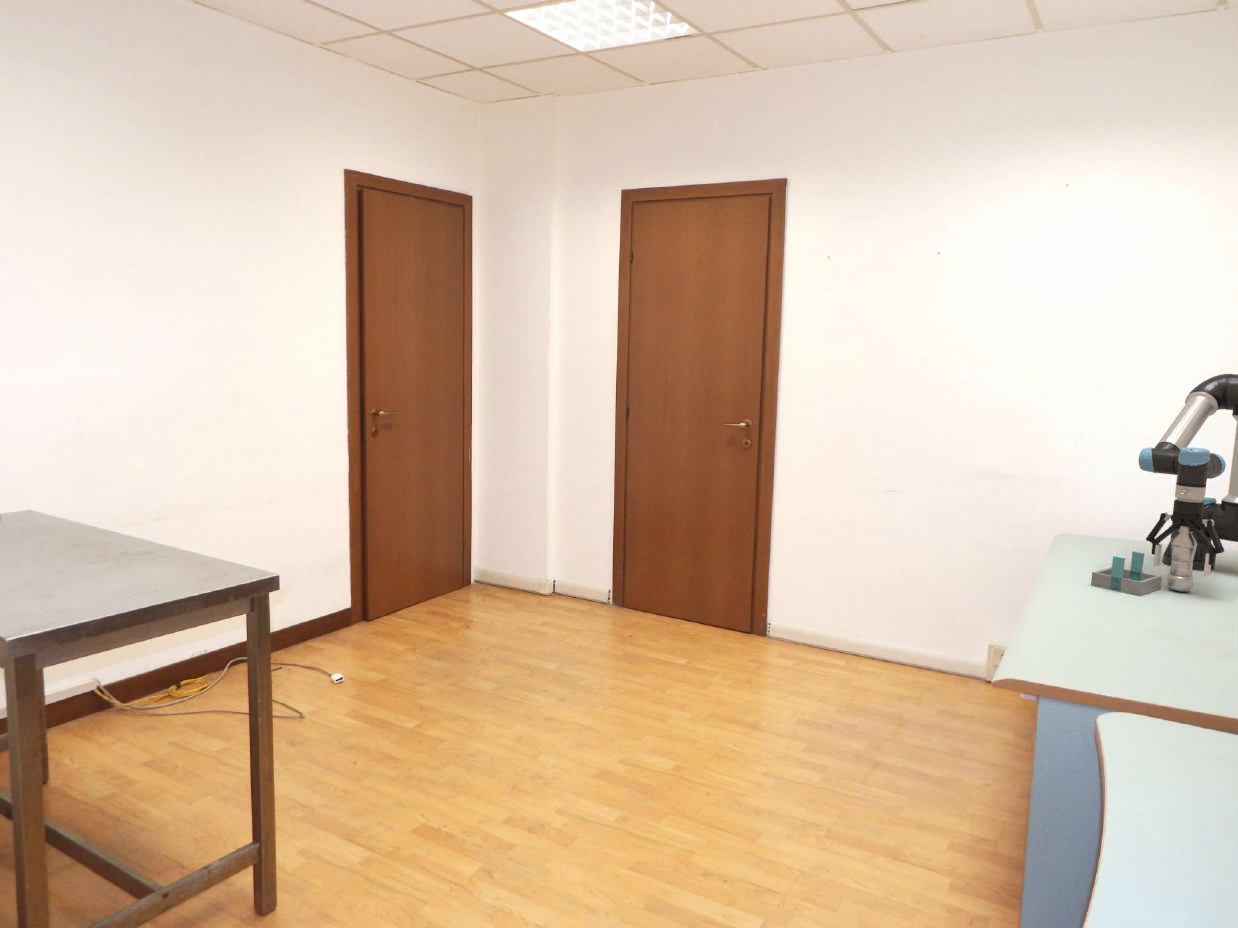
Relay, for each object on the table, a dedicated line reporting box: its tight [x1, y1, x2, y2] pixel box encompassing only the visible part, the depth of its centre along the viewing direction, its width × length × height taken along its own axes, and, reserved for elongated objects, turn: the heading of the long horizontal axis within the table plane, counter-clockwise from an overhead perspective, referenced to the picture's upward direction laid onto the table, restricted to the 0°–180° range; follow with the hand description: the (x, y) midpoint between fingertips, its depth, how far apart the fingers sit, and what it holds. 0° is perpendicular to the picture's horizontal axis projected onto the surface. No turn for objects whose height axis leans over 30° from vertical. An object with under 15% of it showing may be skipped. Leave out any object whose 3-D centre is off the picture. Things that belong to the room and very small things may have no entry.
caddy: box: [1090, 550, 1163, 597], centre depth 273 cm, size 14×14×10 cm
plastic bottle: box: [1166, 525, 1197, 593], centre depth 270 cm, size 6×7×20 cm
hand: (1181, 570), depth 270 cm, fingers open, 13 cm apart
